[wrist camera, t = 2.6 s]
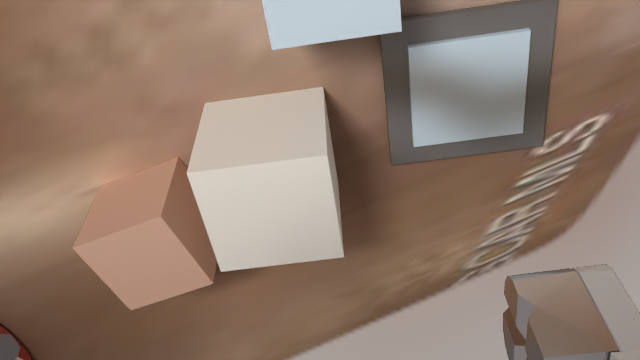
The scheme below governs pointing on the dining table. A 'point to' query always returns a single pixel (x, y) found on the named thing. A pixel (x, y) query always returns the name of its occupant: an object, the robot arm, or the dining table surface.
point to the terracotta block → (148, 236)
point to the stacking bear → (22, 352)
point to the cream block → (267, 180)
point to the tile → (468, 80)
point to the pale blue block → (328, 20)
